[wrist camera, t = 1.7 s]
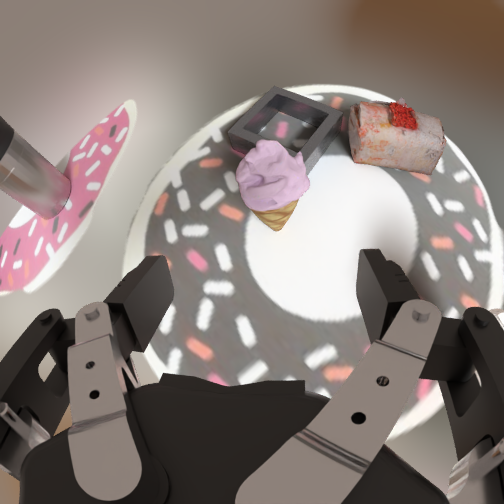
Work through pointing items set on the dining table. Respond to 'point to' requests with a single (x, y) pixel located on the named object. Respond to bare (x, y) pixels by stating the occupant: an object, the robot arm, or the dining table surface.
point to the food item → (395, 136)
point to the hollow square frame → (293, 105)
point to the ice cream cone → (272, 182)
